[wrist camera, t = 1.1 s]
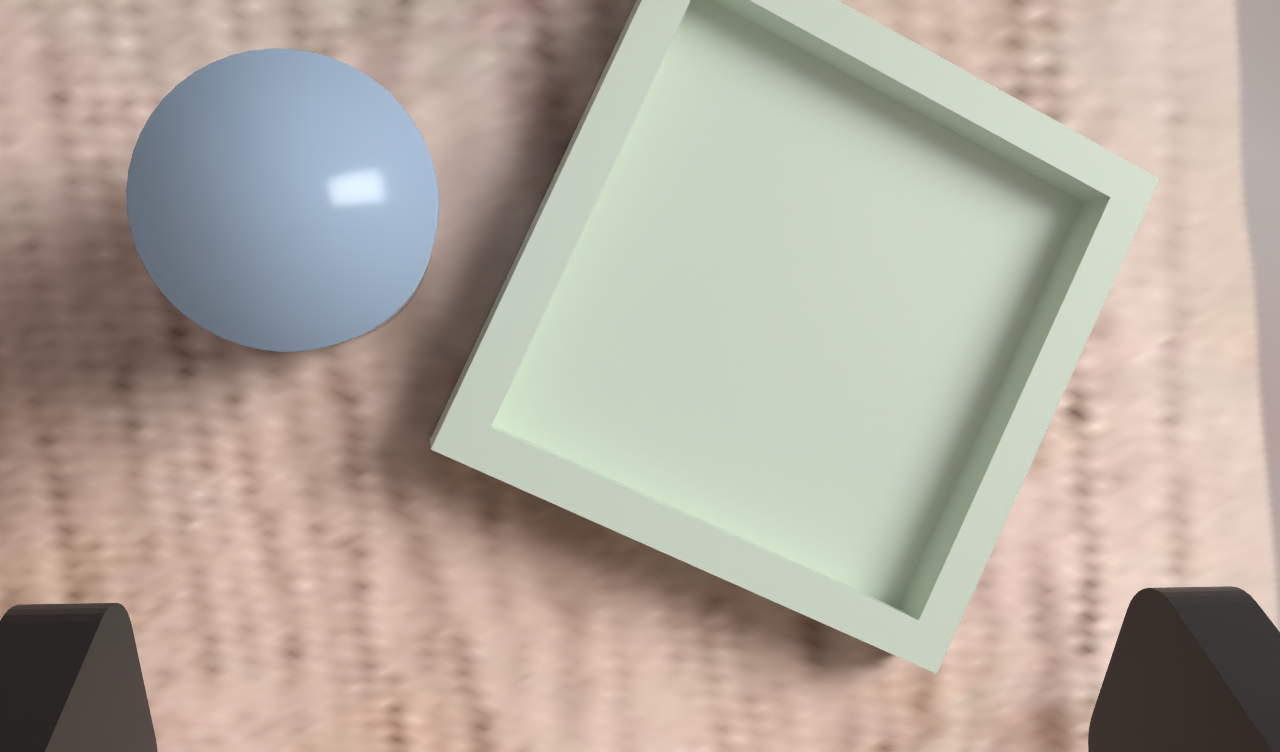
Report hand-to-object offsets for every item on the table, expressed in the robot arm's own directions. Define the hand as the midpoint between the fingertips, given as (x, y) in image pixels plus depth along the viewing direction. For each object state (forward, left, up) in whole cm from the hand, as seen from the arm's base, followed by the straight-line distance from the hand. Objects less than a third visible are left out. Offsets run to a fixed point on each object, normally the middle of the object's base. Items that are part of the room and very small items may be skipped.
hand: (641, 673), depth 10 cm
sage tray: (+7, +7, -26) cm, 28 cm away
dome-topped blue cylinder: (-6, +3, -26) cm, 27 cm away
